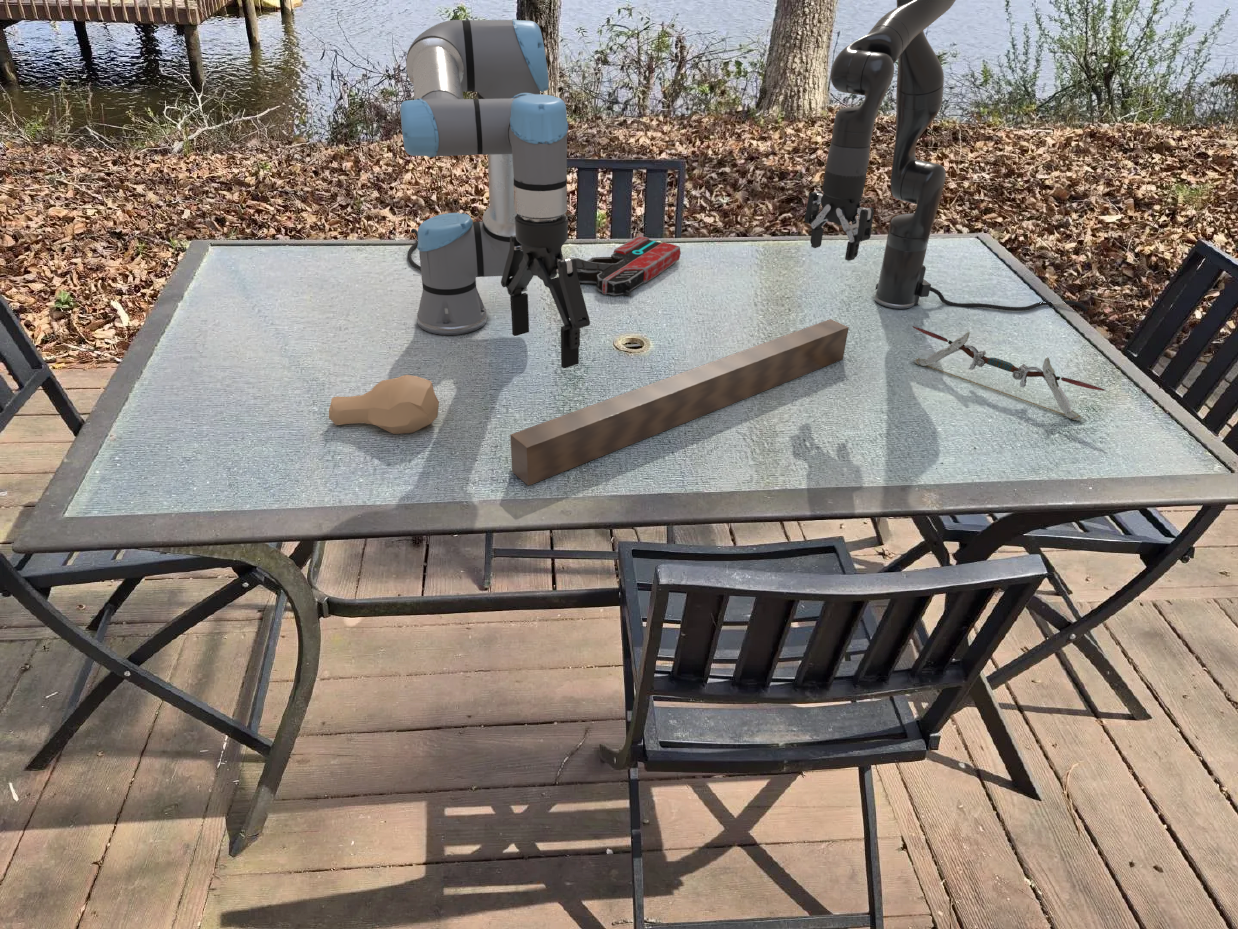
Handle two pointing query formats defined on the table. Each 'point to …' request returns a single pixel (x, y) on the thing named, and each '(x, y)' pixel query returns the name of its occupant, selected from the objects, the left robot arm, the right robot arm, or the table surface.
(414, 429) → the squash
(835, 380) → the table surface
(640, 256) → the gun
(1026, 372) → the bow
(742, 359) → the post
